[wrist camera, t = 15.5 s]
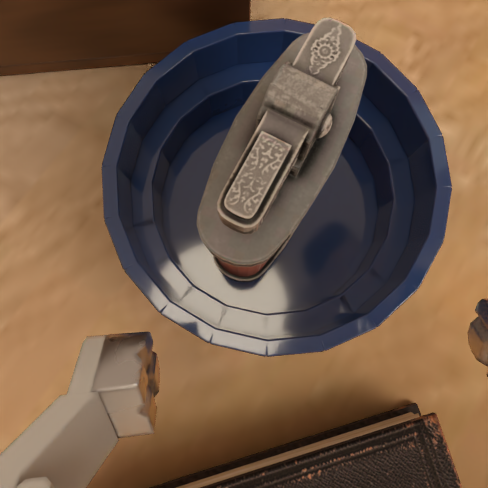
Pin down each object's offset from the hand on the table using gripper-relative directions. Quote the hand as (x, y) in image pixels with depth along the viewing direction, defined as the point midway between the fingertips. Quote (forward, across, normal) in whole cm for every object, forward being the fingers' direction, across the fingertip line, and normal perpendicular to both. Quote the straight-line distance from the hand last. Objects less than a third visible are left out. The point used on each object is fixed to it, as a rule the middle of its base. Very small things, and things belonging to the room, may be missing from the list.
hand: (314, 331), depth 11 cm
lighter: (+10, 0, +2) cm, 11 cm away
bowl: (+10, 0, +3) cm, 11 cm away
